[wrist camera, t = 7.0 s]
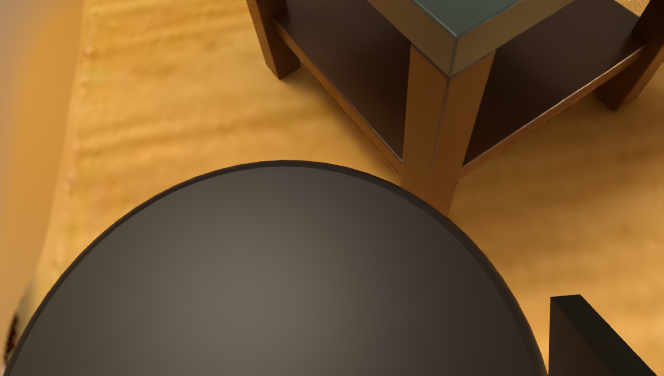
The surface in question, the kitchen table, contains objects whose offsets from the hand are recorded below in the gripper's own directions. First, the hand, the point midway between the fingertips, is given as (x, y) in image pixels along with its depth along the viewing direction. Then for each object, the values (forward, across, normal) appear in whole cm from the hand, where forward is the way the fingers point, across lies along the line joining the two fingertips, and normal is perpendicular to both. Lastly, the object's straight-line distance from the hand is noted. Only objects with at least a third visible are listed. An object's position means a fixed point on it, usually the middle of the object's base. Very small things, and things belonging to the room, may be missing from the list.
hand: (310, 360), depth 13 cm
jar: (+3, 0, -5) cm, 6 cm away
